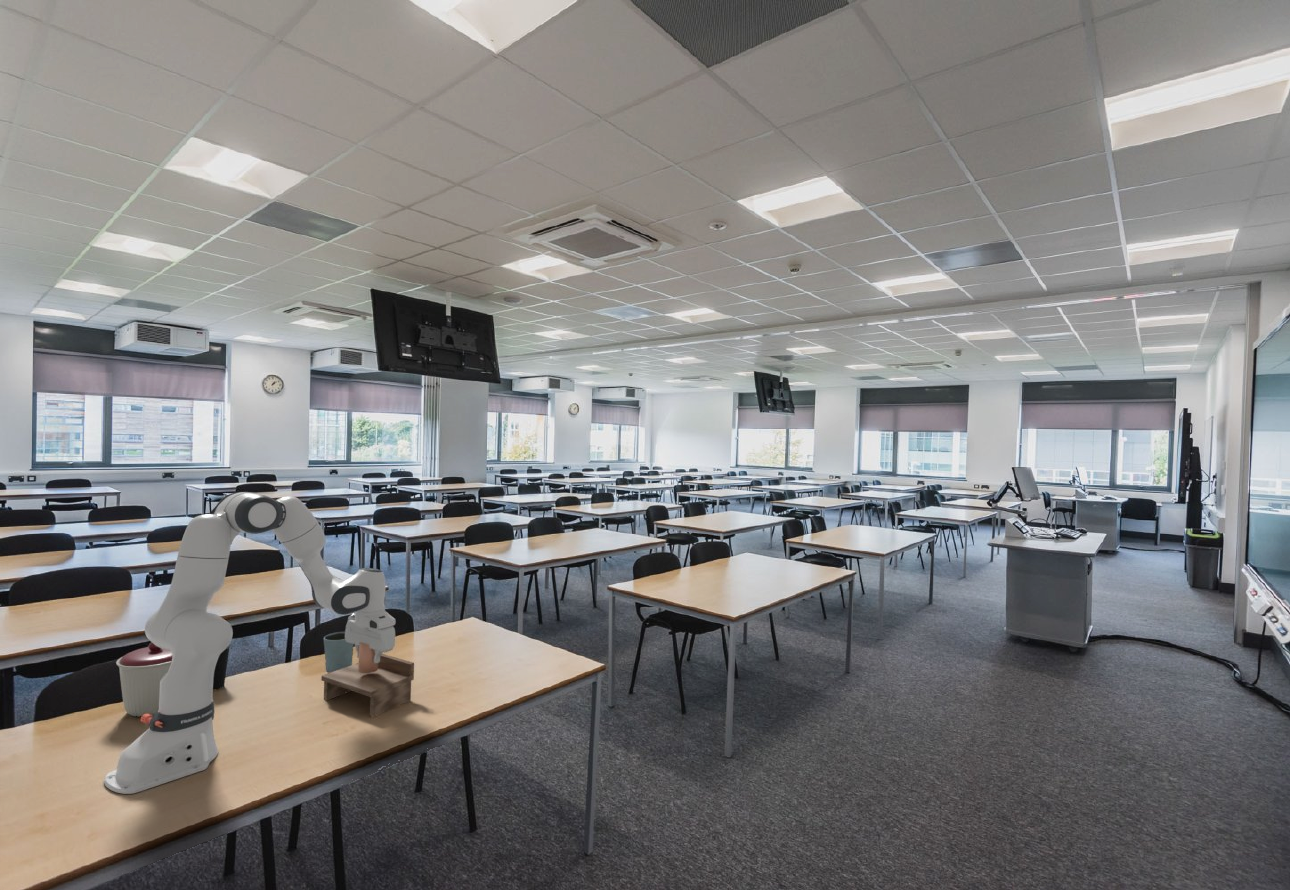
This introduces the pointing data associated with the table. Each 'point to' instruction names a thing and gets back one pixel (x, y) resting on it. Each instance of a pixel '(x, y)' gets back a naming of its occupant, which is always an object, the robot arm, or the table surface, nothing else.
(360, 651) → the pink pillar candle
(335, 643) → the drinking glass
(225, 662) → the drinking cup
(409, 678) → the shelf
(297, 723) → the table surface
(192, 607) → the robot arm
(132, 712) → the canister
